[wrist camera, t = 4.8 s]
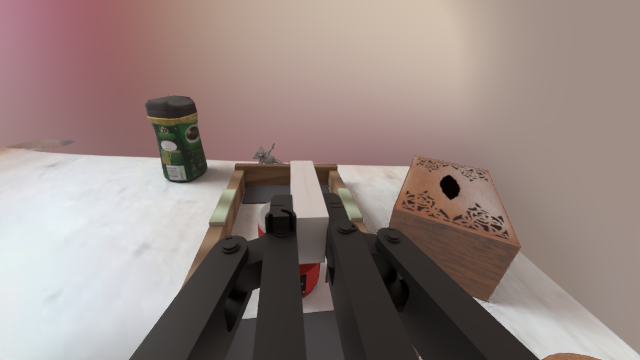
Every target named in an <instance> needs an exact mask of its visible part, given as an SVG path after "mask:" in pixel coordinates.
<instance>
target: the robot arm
mask: <svg viewBox="0 0 640 360" xmlns="http://www.w3.org/2000/svg"><path fill="white" fill-rule="evenodd" d="M265 230H266V232H265V234H263V235H262V236H261V237H259V238H257V239H254V240H251V241H247V240H246V239H245V238H243V237H241V236H228V237H224V238H223V239H221V240H219V241H218V242H217V243H216V244H214V246H213V247H212V248H211V250H210V251H209V252H208V254H207V255H206V257H205V258H204V259H203V261H202V262H201V263H200V265H199V266H198V267H197V269H196V270H195V271H194V273H193V274H192V275H191V277H190V278H189V280H188V281H187V282H186V284H185V285H184V286H183V288H182V289H181V290H180V292H179V293H178V294H177V296H176V297H175V298H174V300H173V301H172V303H171V304H170V305H169V307H168V308H167V309H166V311H165V312H164V313H163V315H162V316H161V317H160V319H159V320H158V321H157V323H156V324H155V325H154V327H153V328H152V330H151V331H150V332H149V334H148V335H147V336H146V338H145V339H144V340H143V342H142V343H141V344H140V346H139V347H138V348H137V350H136V351H135V353H134V354H133V355H132V357H131V358H130V359H129V360H225V358H226V355H227V353H228V350H229V348H230V346H231V343H232V341H233V338H234V336H235V333H236V331H237V328H238V326H239V324H240V321H241V319H242V316H243V314H244V311H245V309H246V307H247V304H248V302H249V299H250V297H251V294H252V290H255V289H258V288H260V292H259V302H258V311H257V321H256V331H255V340H254V350H253V359H252V360H307V356H306V344H305V331H304V319H303V306H302V294H301V282H300V269H299V264H308V263H323V262H325V255H326V259H327V269H326V280H325V283H327V282H328V281H329V286H330V291H331V296H332V301H333V306H334V310H335V315H336V320H337V325H338V330H339V335H340V340H341V345H342V350H343V355H344V359H345V360H419V358H418V356H417V354H416V352H415V350H414V348H413V346H414V347H415V349H416V350H417V352H418V353H419V355H420V356H421V358H422V359H423V360H539V359H538V358H537V357H536V356H535V355H534V354H533V353H532V352H531V351H530V350H529V349H527V348H526V347H525V346H524V345H523V344H522V343H521V342H520V341H519V340H518V339H517V338H516V337H515V336H513V335H512V334H511V333H510V332H509V331H508V330H507V329H506V328H505V327H504V326H503V325H502V324H501V323H499V322H498V321H497V320H496V319H495V318H494V317H493V316H492V315H491V314H490V313H489V312H488V311H487V310H485V309H484V308H483V307H482V306H481V305H480V304H479V303H478V302H477V301H476V300H475V299H474V298H473V297H472V296H470V295H469V294H468V293H467V292H466V291H465V290H464V289H463V288H462V287H461V286H460V285H459V284H458V283H456V282H455V281H454V280H453V279H452V278H451V277H450V276H449V275H448V274H447V273H446V272H445V271H444V270H442V269H441V268H440V267H439V266H438V265H437V264H436V263H435V262H434V261H433V260H432V259H431V258H430V257H428V256H427V255H426V254H425V253H424V252H423V251H422V250H421V249H420V248H419V247H418V246H417V245H416V244H414V243H413V242H412V241H411V240H410V239H409V238H408V237H407V236H406V235H405V234H404V233H402V232H401V231H399V230H397V229H394V228H382V229H380V230H379V231H378V232H377V235H375V234H369V233H365V232H362V231H360V230H359V228H358V226H357V225H356V224H354V223H353V222H351V221H350V219H349V217H348V214H347V212H346V210H345V208H344V205H343V204H342V200H341V198H340V197H339V196H338V195H337V194H336V193H322V192H321V188H320V185H319V182H318V178H317V175H316V172H315V168H314V165H313V162H312V161H291V195H274V196H273V198H272V199H271V201H270V211H269V212H268V213H266V215H265Z"/></svg>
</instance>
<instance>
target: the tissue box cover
mask: <svg viewBox="0 0 640 360" xmlns="http://www.w3.org/2000/svg"><path fill="white" fill-rule="evenodd" d="M388 228H394V229H397V230H399V231H401V232H402V233H404V234H405V235H406V236H407V237H408V238H409V239H410V240H411V241H412V242H413V243H414V244H416V245H417V246H418V247H419V248H420V249H421V250H422V251H423V252H424V253H425V254H426V255H427V256H428V257H430V258H431V259H432V260H433V261H434V262H435V263H436V264H437V265H438V266H439V267H440V268H441V269H442V270H444V271H445V272H446V273H447V274H448V275H449V276H450V277H451V278H452V279H453V280H454V281H455V282H456V283H458V284H459V285H460V286H461V287H462V288H463V289H464V290H465V291H466V292H467V293H468V294H469V295H470V296H472V297H475V298H477V299H480V300H482V301H485V302H487V301H488V299H489V298H490V296H491V294H492V293H493V291H494V290H495V288H496V286H497V285H498V283H499V282H500V280H501V278H502V277H503V275H504V274H505V272H506V270H507V269H508V267H509V266H510V264H511V262H512V261H513V259H514V258H515V256H516V254H517V253H518V251H519V250H520V248H521V247H520V244H519V242H518V240H517V237H516V235H515V233H514V230H513V228H512V225H511V223H510V221H509V218H508V216H507V214H506V212H505V209H504V207H503V205H502V202H501V200H500V198H499V195H498V193H497V191H496V188H495V186H494V184H493V181H492V179H491V177H490V174H489V172H488V171H487V170H482V169H477V168H473V167H468V166H463V165H459V164H454V163H449V162H444V161H440V160H435V159H430V158H425V157H420V156H416V155H415V156H414V159H413V161H412V164H411V166H410V168H409V171H408V173H407V176H406V178H405V181H404V183H403V186H402V188H401V191H400V193H399V196H398V198H397V201H396V203H395V205H394V208H393V212H392V215H391V219H390V223H389V227H388Z"/></svg>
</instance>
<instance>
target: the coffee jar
mask: <svg viewBox="0 0 640 360" xmlns="http://www.w3.org/2000/svg"><path fill="white" fill-rule="evenodd" d="M145 106H146V109H147V115H148V119H149V121H150V122H151V123H152V125H153V127H154V130H155V133H156V137H157V141H158V146H159V151H160V156H161V162H162V168H163V172H164V176H165V178H166V179H168V180H171V181H176V182H181V181H191V180H193V179H195V178H197V177H198V176H200V175H201V174H202V173H204V172H205V171H206V170H207V162H206V159H205V155H204V151H203V147H202V143H201V139H200V135H199V130H198V123H197V110H196V107H195V103H194V101H193V100H192V99H191V98H189V97H184V96H167V97H162V98H157V99H153V100H148V101H147V103H146V104H145Z"/></svg>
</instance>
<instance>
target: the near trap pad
mask: <svg viewBox="0 0 640 360" xmlns="http://www.w3.org/2000/svg"><path fill="white" fill-rule="evenodd" d="M303 319H304V331H305V344H306V356H307V360H345V359H344V355H343V350H342V345H341V340H340V335H339V330H338V325H337V320H336V315H335V310H333V311H323V312H312V313H303ZM256 321H257V318H250V319H241V321H240V324H239V326H238V328H237V331H236V333H235V336H234V338H233V341H232V343H231V346H230V348H229V350H228V353H227V355H226V358H225V360H252V359H253V350H254V340H255V331H256Z"/></svg>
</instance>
